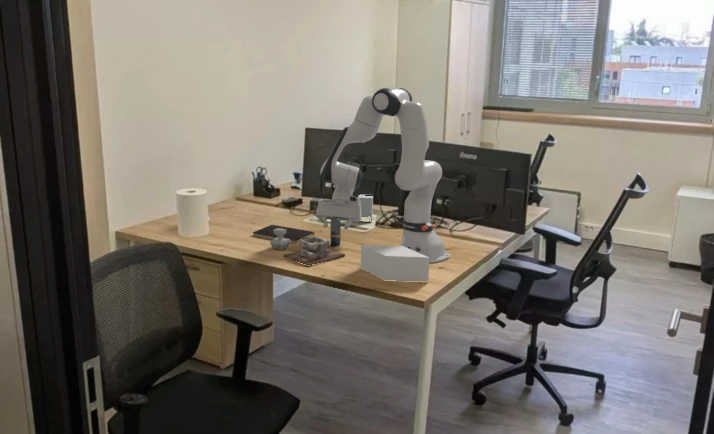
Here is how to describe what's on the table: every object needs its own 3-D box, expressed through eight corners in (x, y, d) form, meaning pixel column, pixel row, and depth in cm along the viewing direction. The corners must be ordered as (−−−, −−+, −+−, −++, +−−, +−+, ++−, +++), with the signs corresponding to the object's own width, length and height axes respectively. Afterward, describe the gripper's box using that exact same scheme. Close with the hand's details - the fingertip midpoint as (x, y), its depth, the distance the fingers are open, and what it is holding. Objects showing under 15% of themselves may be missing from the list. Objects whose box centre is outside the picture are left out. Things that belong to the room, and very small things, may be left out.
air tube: (342, 245, 290) (343, 218, 287) (335, 247, 287) (335, 220, 284) (335, 242, 293) (335, 216, 290) (327, 244, 290) (328, 218, 287)
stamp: (281, 252, 279) (281, 233, 277) (268, 249, 281) (268, 230, 279) (292, 246, 287) (292, 227, 285) (279, 244, 289) (279, 225, 287)
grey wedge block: (420, 289, 241) (421, 262, 238) (351, 274, 254) (351, 249, 252) (435, 277, 253) (437, 252, 250) (369, 264, 267) (370, 239, 264)
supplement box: (372, 219, 334) (373, 194, 331) (371, 222, 327) (372, 198, 323) (358, 218, 335) (358, 194, 331) (356, 222, 327) (357, 197, 324)
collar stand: (345, 256, 275) (345, 240, 273) (308, 266, 261) (308, 250, 259) (319, 247, 286) (319, 232, 284) (283, 257, 272) (283, 241, 270)
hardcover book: (295, 244, 291) (295, 239, 290) (252, 237, 301) (252, 232, 300) (314, 236, 304) (314, 231, 304) (272, 228, 314) (272, 224, 314)
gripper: (318, 195, 295) (311, 222, 288) (362, 198, 291) (356, 226, 284) (320, 202, 300) (314, 229, 294) (364, 206, 296) (359, 233, 289)
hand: (335, 227), depth 289 cm, fingers open, 8 cm apart
